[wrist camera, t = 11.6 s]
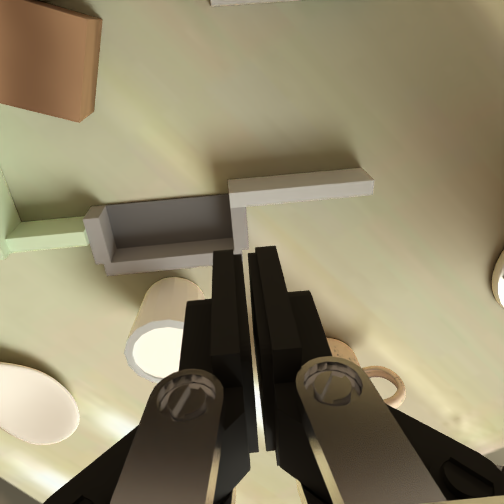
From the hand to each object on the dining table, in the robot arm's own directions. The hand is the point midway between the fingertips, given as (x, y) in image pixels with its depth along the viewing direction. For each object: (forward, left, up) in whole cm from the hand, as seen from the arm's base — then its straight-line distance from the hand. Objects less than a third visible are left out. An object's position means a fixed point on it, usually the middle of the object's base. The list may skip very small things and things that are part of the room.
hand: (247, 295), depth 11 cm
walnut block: (+11, -5, -23) cm, 26 cm away
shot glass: (+6, +16, -23) cm, 29 cm away
